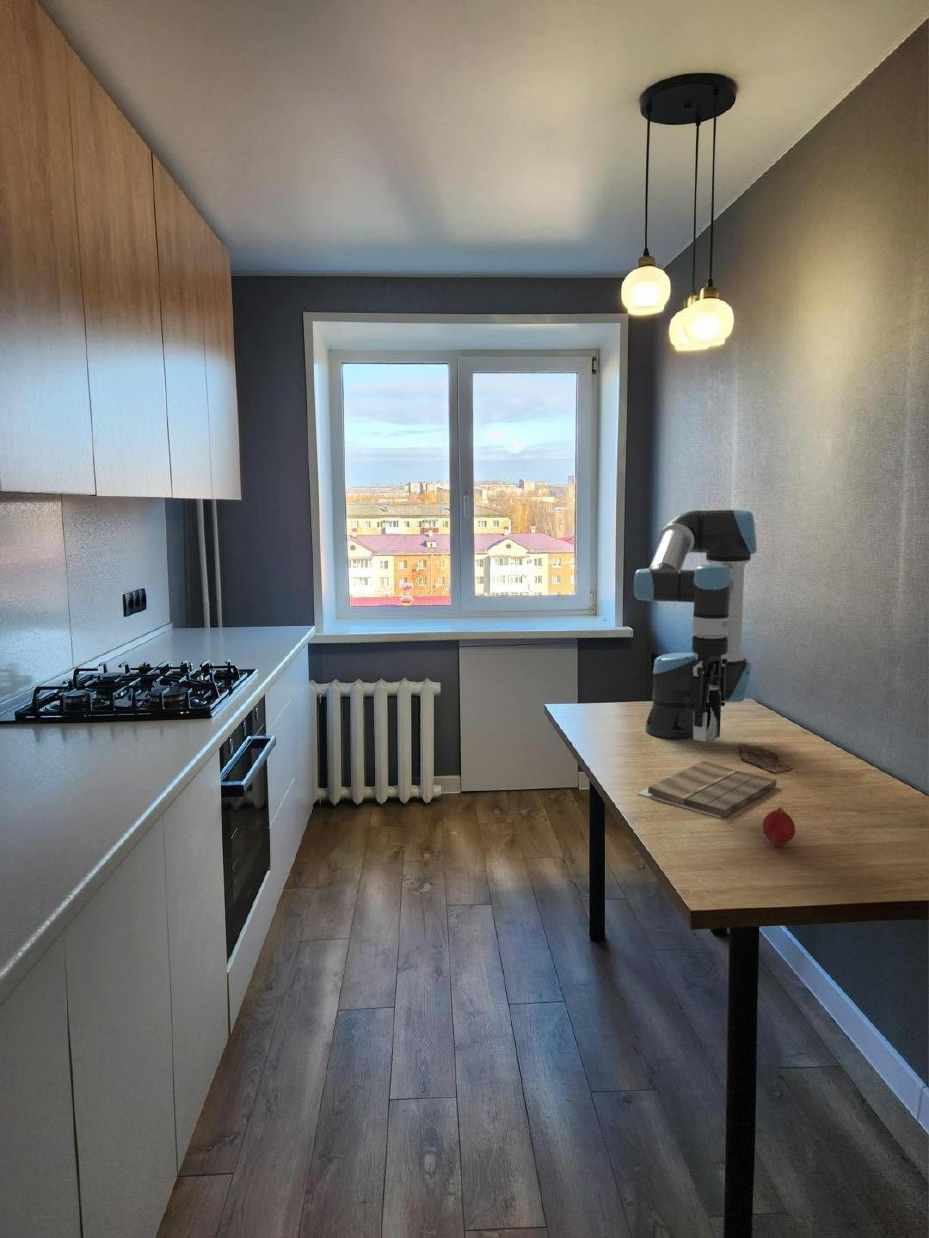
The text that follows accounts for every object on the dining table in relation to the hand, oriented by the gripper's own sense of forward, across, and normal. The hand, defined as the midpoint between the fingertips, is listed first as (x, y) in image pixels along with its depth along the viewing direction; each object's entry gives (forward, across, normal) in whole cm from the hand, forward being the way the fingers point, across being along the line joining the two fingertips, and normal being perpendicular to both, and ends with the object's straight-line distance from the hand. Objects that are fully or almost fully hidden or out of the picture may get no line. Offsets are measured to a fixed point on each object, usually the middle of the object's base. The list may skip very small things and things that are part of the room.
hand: (706, 736), depth 174 cm
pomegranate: (+13, -16, -23) cm, 31 cm away
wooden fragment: (+15, +36, +2) cm, 39 cm away
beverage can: (+1, 0, 0) cm, 1 cm away
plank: (+13, +3, +4) cm, 14 cm away
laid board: (+14, +3, -5) cm, 15 cm away
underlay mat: (+14, +3, +1) cm, 14 cm away
